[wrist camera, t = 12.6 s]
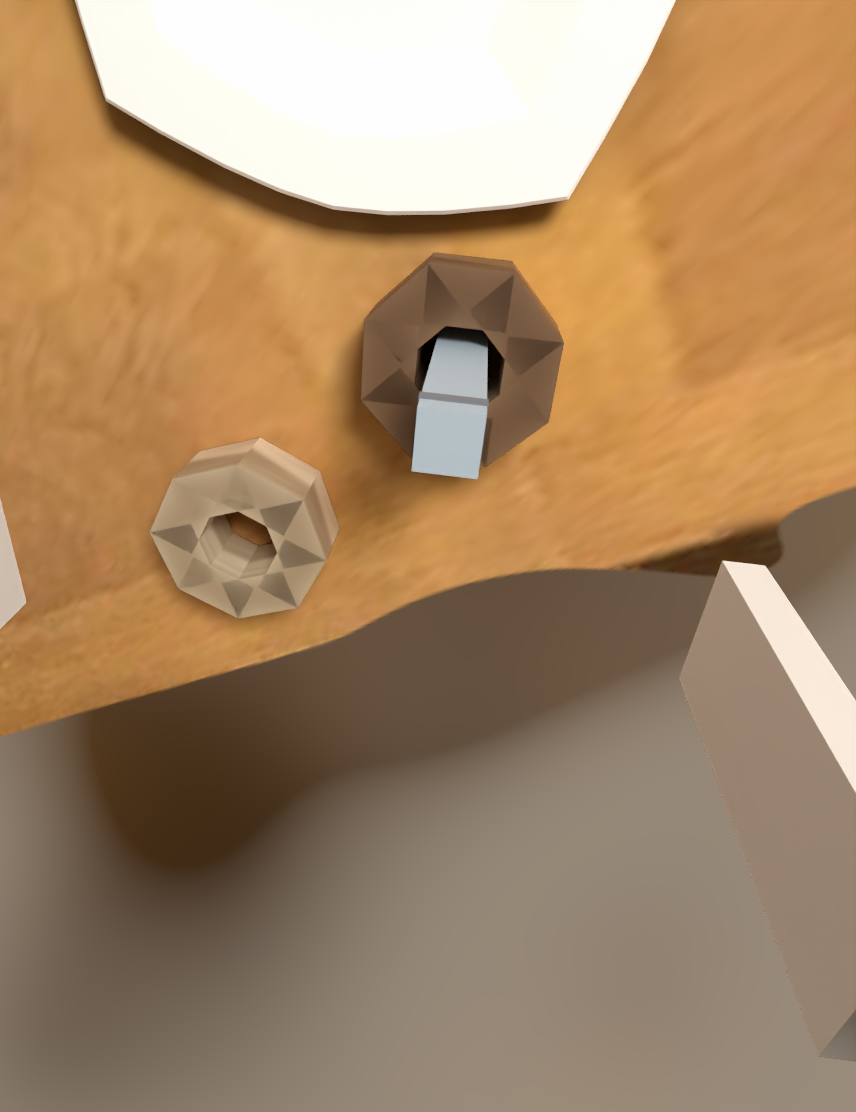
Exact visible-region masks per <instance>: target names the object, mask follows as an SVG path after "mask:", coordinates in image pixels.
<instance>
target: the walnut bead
mask: <svg viewBox="0 0 856 1112" xmlns="http://www.w3.org/2000/svg"><path fill="white" fill-rule="evenodd" d="M445 326H451V327H460V328H469V329H477V330H483V331H484V333H485V334H486V335H487V336H488V338H489V339H490V340H491V342H492V343H493V344H494V346H495V347H496V348H497V350H498V351H499V352H500V354H501V360H500V367H499V372H498V373H497V374H496V375H495V376H493V377H492V378H491V379H489V380H488V381H487V399H489V407H488V413H487V420H486V427H485V434H484V441H483V448H482V455H481V462H480V466H482V467H486V466H488V465H489V464H491V463H492V462H493V461H495V460H496V459H498V458H499V457H500V456H502V455H503V454H505V453H506V452H508V451H509V450H510V449H512V448H513V447H515V446H516V445H517V444H519V443H520V442H522V441H523V440H524V439H526V438H527V437H529V436H530V435H531V434H533V433H534V432H536V431H537V430H539V429H540V428H541V427H543V426H544V425H546V424H547V423H548V422H549V417H550V412H551V407H552V402H553V397H554V391H555V386H556V381H557V376H558V370H559V365H560V360H561V355H562V350H563V344H564V342H563V339H562V337H561V334H560V332H559V329H558V326H557V324H556V323H555V321H554V320H553V318H552V317H551V316H550V314H549V313H548V311H547V310H546V309H545V307H544V306H543V304H542V303H541V301H540V300H539V299H538V297H537V296H536V294H535V293H534V292H533V290H532V289H531V287H530V286H529V285H528V283H527V282H526V280H525V279H524V277H523V276H522V275H521V273H520V272H519V270H518V269H517V268H516V266H515V265H514V263H513V262H512V261H505V260H496V259H487V258H479V257H470V256H461V255H452V254H443V253H434V254H432V255H431V256H430V257H429V258H428V259H427V260H426V261H424V262H423V263H422V264H421V265H420V266H419V267H418V268H417V269H415V270H414V271H413V272H412V273H411V274H410V275H409V276H408V277H406V278H405V279H404V280H403V281H402V282H401V283H400V284H398V285H397V286H396V287H395V288H394V289H393V290H392V291H391V292H389V293H388V294H387V295H386V296H385V297H384V298H383V299H382V300H380V301H379V302H378V303H377V304H376V305H375V307H374V308H373V309H372V311H371V312H370V313H369V315H368V316H367V317H366V318H365V320H364V342H363V363H362V384H361V401H362V402H363V403H364V404H365V406H366V407H367V408H368V409H369V410H370V411H371V413H372V414H373V415H374V416H375V417H376V418H377V419H378V421H379V422H380V423H381V424H382V425H383V426H384V428H385V429H386V430H387V431H388V432H389V433H390V434H391V436H392V437H393V438H394V439H395V440H396V441H397V442H398V444H399V445H400V446H401V447H402V448H403V449H404V451H405V452H406V453H407V454H408V455H409V456H410V457H411V458H413V449H414V438H415V427H416V415H417V406H418V396H419V393H420V391H422V389H423V385H424V382H425V379H426V375H427V372H428V371H427V369H426V368H425V367H424V366H423V364H422V354H423V344H425V343H426V342H427V341H428V340H429V339H431V338H432V337H433V336H434V335H435V334H437V333H438V332H439V331H440V330H441V329H443V328H444V327H445Z"/></svg>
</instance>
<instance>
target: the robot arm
mask: <svg viewBox="0 0 856 1112" xmlns="http://www.w3.org/2000/svg"><path fill="white" fill-rule="evenodd" d="M25 603H26V598H25V594H24V590H23V587H22V583H21V579H20V575H19V571H18V567H17V563H16V559H15V555H14V551H13V547H12V543H11V539H10V535H9V531H8V527H7V523H6V519H5V515H4V512H3V508H2V504H1V500H0V629H1V628H2V627H3V626H4V625H5V624H6V623H7V622H8V621H9V620H10V619H11V618H12V617H13V616H14V615H15V614H16V613H17V612H18V611H19V610H20V609H21V608H22V606H23V605H24V604H25ZM679 680H680V683H681V685H682V688H683V691H684V694H685V696H686V699H687V702H688V704H689V707H690V710H691V712H692V715H693V718H694V721H695V724H696V726H697V729H698V732H699V735H700V737H701V740H702V743H703V745H704V748H705V751H706V753H707V756H708V759H709V762H710V764H711V767H712V770H713V773H714V775H715V778H716V781H717V783H718V786H719V789H720V791H721V794H722V797H723V800H724V803H725V805H726V808H727V811H728V813H729V816H730V819H731V822H732V824H733V827H734V830H735V833H736V835H737V838H738V841H739V843H740V846H741V849H742V852H743V854H744V857H745V860H746V863H747V865H748V868H749V871H750V873H751V876H752V879H753V882H754V884H755V887H756V890H757V892H758V895H759V898H760V901H761V903H762V906H763V909H764V912H765V914H766V917H767V920H768V922H769V925H770V928H771V931H772V933H773V936H774V939H775V942H776V944H777V947H778V950H779V952H780V955H781V958H782V960H783V963H784V966H785V969H786V972H787V974H788V977H789V980H790V982H791V985H792V988H793V991H794V993H795V996H796V999H797V1001H798V1004H799V1007H800V1010H801V1012H802V1015H803V1018H804V1021H805V1023H806V1026H807V1029H808V1031H809V1034H810V1037H811V1039H812V1042H813V1045H814V1048H815V1051H816V1053H817V1056H818V1057H824V1058H833V1059H840V1060H848V1061H856V700H855V699H854V698H853V696H852V695H851V693H850V692H849V690H848V689H847V687H846V686H845V684H844V683H843V681H842V680H841V678H840V677H839V675H838V674H837V672H836V671H835V669H834V668H833V666H832V665H831V663H830V662H829V660H828V659H827V657H826V656H825V654H824V653H823V651H822V650H821V648H820V647H819V645H818V644H817V642H816V641H815V640H814V638H813V636H812V635H811V633H810V632H809V630H808V629H807V627H806V626H805V624H804V623H803V622H802V620H801V619H800V617H799V615H798V614H797V612H796V611H795V609H794V608H793V606H792V605H791V603H790V602H789V600H788V599H787V598H786V596H785V595H784V593H783V592H782V590H781V588H780V587H779V585H778V584H777V583H776V581H775V580H774V578H773V577H772V575H771V574H770V572H769V571H768V569H767V568H766V566H764V565H755V564H746V563H738V562H729V561H722V563H721V566H720V568H719V571H718V574H717V576H716V579H715V582H714V585H713V587H712V590H711V593H710V595H709V598H708V601H707V604H706V607H705V609H704V612H703V615H702V617H701V620H700V623H699V626H698V628H697V631H696V633H695V637H694V639H693V642H692V644H691V647H690V650H689V652H688V655H687V658H686V661H685V663H684V666H683V669H682V671H681V674H680V677H679Z"/></svg>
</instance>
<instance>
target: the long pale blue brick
mask: <svg viewBox="0 0 856 1112" xmlns="http://www.w3.org/2000/svg"><path fill="white" fill-rule="evenodd" d="M487 369H488V336H487V335H486V334H485V333H484V331H483V330H475V329H466V328H458V327H449V326H445V327H444V328H443V329H441V330H440V331H439V334H438V337H437V341H436V344H435V348H434V351H433V354H432V358H431V361H430V365H429V368H428V372H427V375H426V379H425V382H424V385H423V389H422V391H420V393H419V396H418V406H417V415H416V427H415V438H414V449H413V460H412V471H413V472H421V473H429V474H438V475H446V476H454V477H463V478H471V479H478V473H479V469H480V462H481V455H482V448H483V441H484V434H485V427H486V420H487V413H488V407H489V399H487Z"/></svg>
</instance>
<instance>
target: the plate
mask: <svg viewBox="0 0 856 1112" xmlns="http://www.w3.org/2000/svg"><path fill="white" fill-rule="evenodd" d="M675 1H676V0H75V3H76V6H77V10H78V13H79V16H80V20H81V23H82V27H83V30H84V33H85V36H86V39H87V43H88V46H89V49H90V52H91V55H92V59H93V62H94V65H95V68H96V72H97V75H98V78H99V81H100V84H101V88H102V91H103V94H104V97H105V100H106V101H107V102H108V103H110V104H112V105H113V106H115V107H117V108H118V109H120V110H122V111H123V112H125V113H127V114H128V115H130V116H132V117H133V118H135V119H137V120H138V121H140V122H142V123H143V124H145V125H147V126H148V127H150V128H152V129H153V130H155V131H157V132H158V133H160V134H162V135H164V136H166V137H167V138H169V139H171V140H173V141H175V142H177V143H179V144H181V145H182V146H184V147H186V148H188V149H190V150H192V151H194V152H196V153H197V154H199V155H201V156H203V157H205V158H207V159H209V160H210V161H212V162H214V163H216V164H218V165H220V166H222V167H224V168H226V169H228V170H230V171H233V172H235V173H237V174H239V175H242V176H244V177H246V178H248V179H251V180H253V181H255V182H257V183H260V184H262V185H264V186H266V187H269V188H271V189H273V190H275V191H278V192H280V193H283V194H286V195H289V196H293V197H296V198H299V199H302V200H305V201H308V202H311V203H314V204H317V205H320V206H324V207H327V208H330V209H333V210H342V211H352V212H362V213H372V214H382V215H445V214H456V213H466V212H477V211H488V210H498V209H509V208H517V207H523V206H530V205H536V204H543V203H550V202H556V201H563V200H568V199H569V198H570V196H571V194H572V193H573V191H574V189H575V187H576V186H577V184H578V182H579V181H580V179H581V177H582V176H583V174H584V172H585V171H586V169H587V167H588V165H589V164H590V162H591V160H592V159H593V157H594V155H595V154H596V152H597V150H598V149H599V147H600V145H601V143H602V142H603V140H604V138H605V137H606V135H607V133H608V131H609V130H610V128H611V126H612V124H613V122H614V121H615V119H616V117H617V115H618V113H619V112H620V110H621V108H622V106H623V104H624V103H625V101H626V99H627V97H628V95H629V94H630V92H631V90H632V88H633V86H634V85H635V83H636V81H637V79H638V77H639V76H640V74H641V72H642V70H643V68H644V67H645V65H646V63H647V61H648V59H649V57H650V54H651V52H652V50H653V48H654V46H655V44H656V42H657V39H658V37H659V35H660V33H661V31H662V29H663V26H664V24H665V22H666V20H667V18H668V16H669V14H670V11H671V9H672V7H673V5H674V3H675Z"/></svg>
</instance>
